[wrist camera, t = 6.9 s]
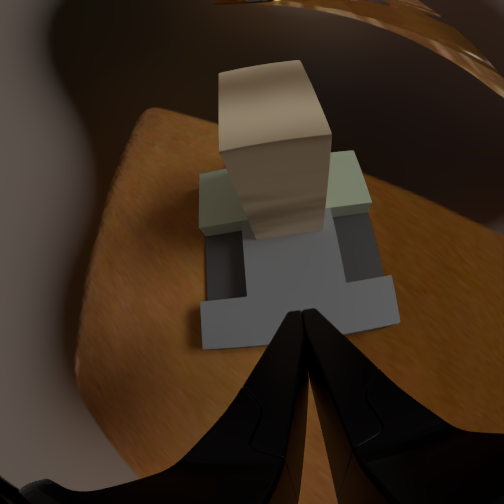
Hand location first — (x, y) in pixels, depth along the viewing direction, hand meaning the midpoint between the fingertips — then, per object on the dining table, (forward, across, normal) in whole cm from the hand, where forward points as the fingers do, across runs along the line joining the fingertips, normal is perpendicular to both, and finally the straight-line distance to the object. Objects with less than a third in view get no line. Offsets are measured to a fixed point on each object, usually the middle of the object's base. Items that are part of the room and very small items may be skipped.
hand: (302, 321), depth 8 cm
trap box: (+14, 0, +4) cm, 14 cm away
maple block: (+15, 0, 0) cm, 15 cm away
